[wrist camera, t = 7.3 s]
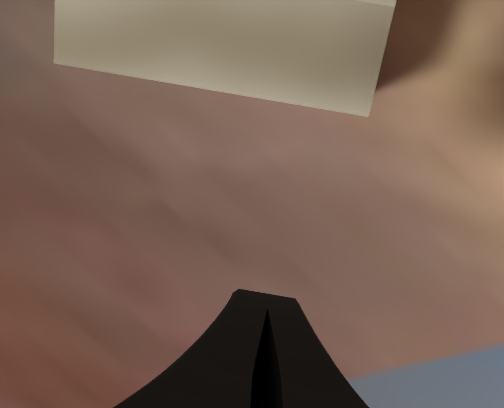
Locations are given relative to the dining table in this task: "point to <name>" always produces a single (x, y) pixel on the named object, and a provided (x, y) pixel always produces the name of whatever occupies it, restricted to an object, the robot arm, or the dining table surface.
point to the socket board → (235, 46)
